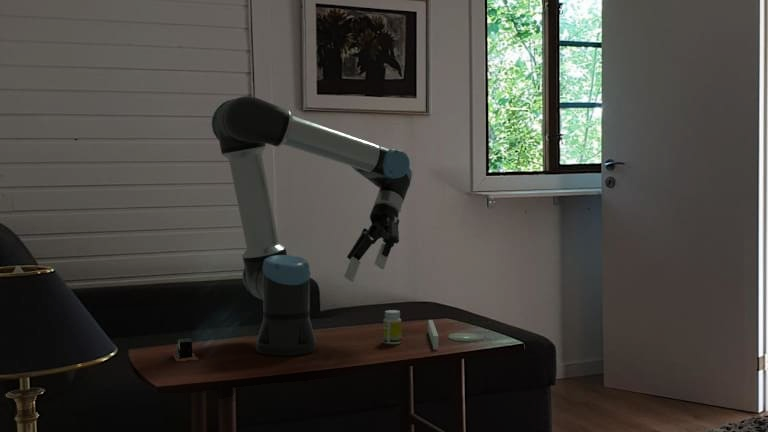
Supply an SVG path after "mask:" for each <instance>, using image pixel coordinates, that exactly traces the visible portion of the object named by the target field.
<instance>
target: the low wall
mask: <svg viewBox="0 0 768 432" xmlns="http://www.w3.org/2000/svg"><path fill="white" fill-rule="evenodd" d="M427 324H428V325H427V327H428V328H427V330H428V331H427V332H428V336H429V339H430V342H431V345H432V349H433V350H434V351H435V350H437V351H438V350H439V334H438V331H437V329H436V326H435V323H434V320H433V319H428V322H427Z"/></svg>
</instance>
